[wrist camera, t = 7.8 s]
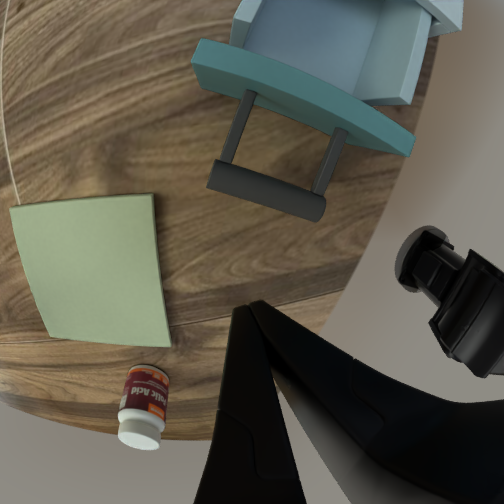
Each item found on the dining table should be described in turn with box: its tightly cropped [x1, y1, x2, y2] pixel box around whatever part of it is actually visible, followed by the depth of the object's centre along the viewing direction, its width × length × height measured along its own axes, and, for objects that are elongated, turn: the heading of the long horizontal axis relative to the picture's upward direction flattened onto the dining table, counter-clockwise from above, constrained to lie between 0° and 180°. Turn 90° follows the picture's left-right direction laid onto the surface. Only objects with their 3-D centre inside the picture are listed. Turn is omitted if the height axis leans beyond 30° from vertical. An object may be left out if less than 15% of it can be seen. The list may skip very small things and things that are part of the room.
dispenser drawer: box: [191, 0, 432, 222], centre depth 11 cm, size 19×11×7 cm, turn 160°
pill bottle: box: [118, 365, 169, 450], centre depth 22 cm, size 5×5×8 cm
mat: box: [9, 193, 172, 347], centre depth 20 cm, size 14×14×1 cm
